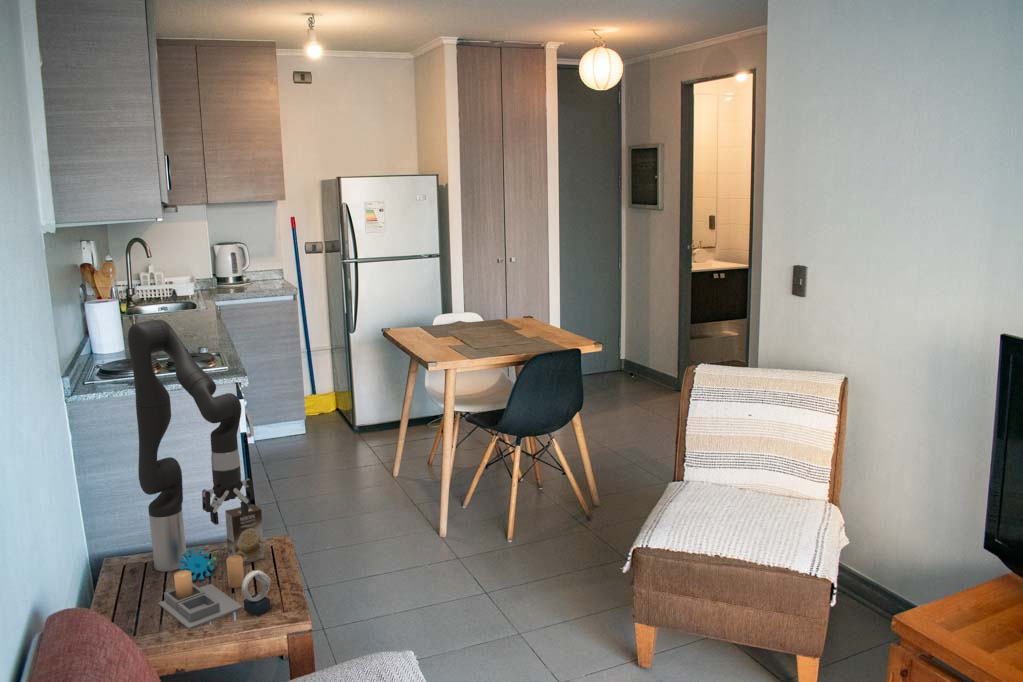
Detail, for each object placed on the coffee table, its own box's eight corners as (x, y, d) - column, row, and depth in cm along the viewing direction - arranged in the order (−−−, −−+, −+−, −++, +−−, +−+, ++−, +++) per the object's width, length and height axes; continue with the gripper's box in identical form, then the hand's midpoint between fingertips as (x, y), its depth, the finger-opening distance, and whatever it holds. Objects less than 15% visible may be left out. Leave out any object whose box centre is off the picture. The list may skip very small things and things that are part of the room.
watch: (276, 606, 228) (273, 568, 226) (252, 619, 221) (249, 580, 219) (262, 600, 231) (259, 563, 229) (238, 613, 224) (235, 575, 222)
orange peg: (225, 584, 241) (223, 558, 239) (239, 579, 244) (237, 553, 242) (232, 589, 238) (230, 563, 236) (247, 584, 241) (245, 558, 239)
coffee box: (236, 567, 251) (232, 516, 248) (228, 560, 256) (223, 510, 253) (265, 558, 257) (261, 509, 254) (256, 551, 262) (253, 503, 259)
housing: (158, 604, 230) (155, 575, 228) (211, 585, 240) (208, 557, 238) (188, 629, 217) (186, 599, 215) (242, 608, 227) (240, 579, 225)
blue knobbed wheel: (186, 582, 239) (176, 550, 243) (179, 591, 242) (169, 560, 247) (222, 573, 247) (212, 543, 251) (215, 583, 250) (205, 553, 255)
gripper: (243, 455, 241) (247, 508, 244) (195, 467, 231) (199, 522, 234) (256, 462, 236) (259, 516, 239) (207, 474, 226) (211, 530, 229)
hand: (230, 519), depth 237 cm, fingers open, 8 cm apart
